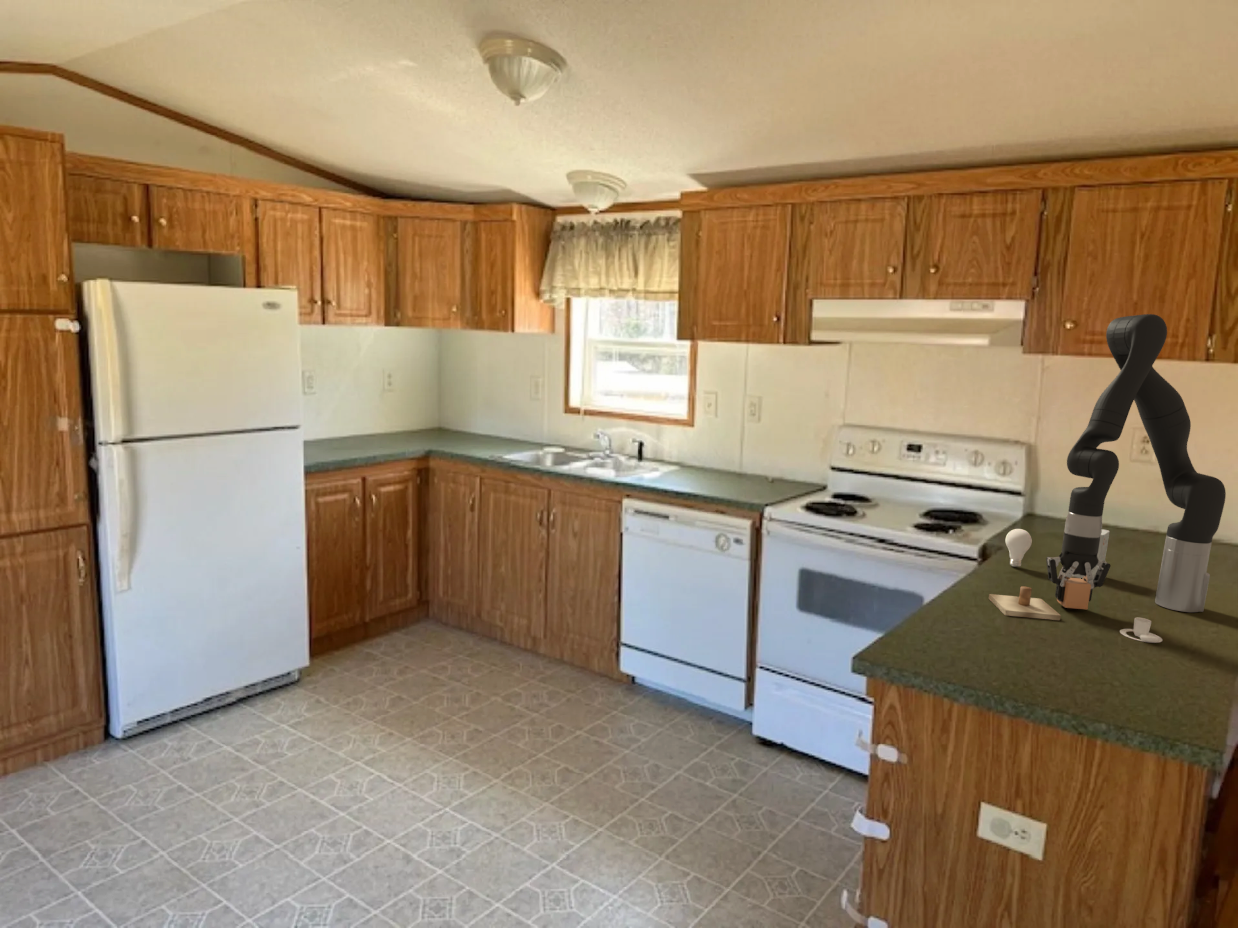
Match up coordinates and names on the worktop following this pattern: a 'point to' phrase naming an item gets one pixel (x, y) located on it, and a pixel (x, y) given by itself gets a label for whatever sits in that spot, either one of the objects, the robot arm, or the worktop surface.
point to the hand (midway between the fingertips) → (1072, 601)
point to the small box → (1099, 552)
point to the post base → (1024, 605)
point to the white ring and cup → (1142, 631)
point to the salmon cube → (1076, 594)
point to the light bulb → (1017, 545)
